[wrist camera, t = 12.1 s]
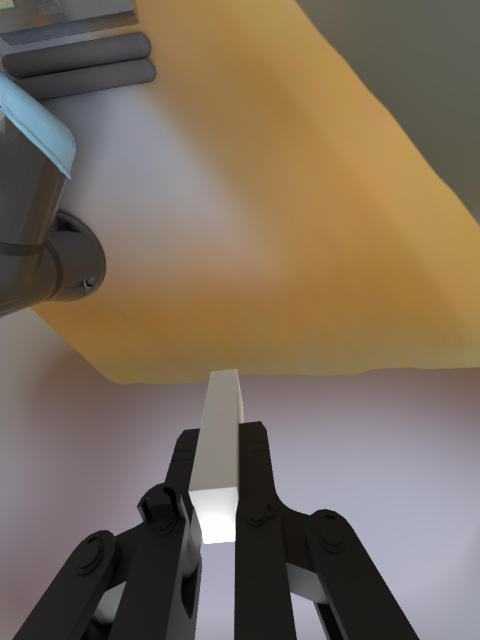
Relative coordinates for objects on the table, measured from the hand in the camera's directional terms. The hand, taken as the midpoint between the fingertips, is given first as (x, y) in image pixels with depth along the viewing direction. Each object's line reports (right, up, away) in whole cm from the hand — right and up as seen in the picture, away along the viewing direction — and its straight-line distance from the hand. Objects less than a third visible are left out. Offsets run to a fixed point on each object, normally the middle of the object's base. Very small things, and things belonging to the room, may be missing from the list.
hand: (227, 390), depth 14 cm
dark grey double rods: (-21, +39, +20) cm, 49 cm away
